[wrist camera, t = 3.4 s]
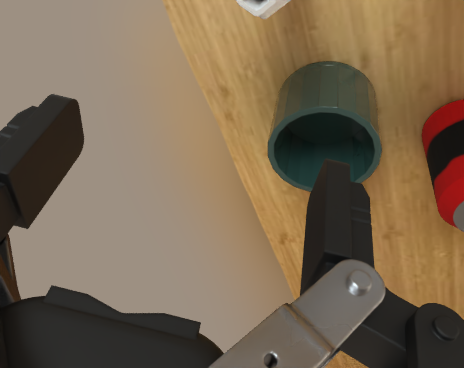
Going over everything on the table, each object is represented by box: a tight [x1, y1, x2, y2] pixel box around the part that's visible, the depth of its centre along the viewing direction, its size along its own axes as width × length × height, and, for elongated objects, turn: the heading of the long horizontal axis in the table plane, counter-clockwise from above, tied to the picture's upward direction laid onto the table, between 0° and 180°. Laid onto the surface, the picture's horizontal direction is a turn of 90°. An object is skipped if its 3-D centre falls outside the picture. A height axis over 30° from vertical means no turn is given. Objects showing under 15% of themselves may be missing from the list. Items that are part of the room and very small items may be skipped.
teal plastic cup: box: [268, 61, 382, 192], centre depth 41 cm, size 14×10×8 cm
